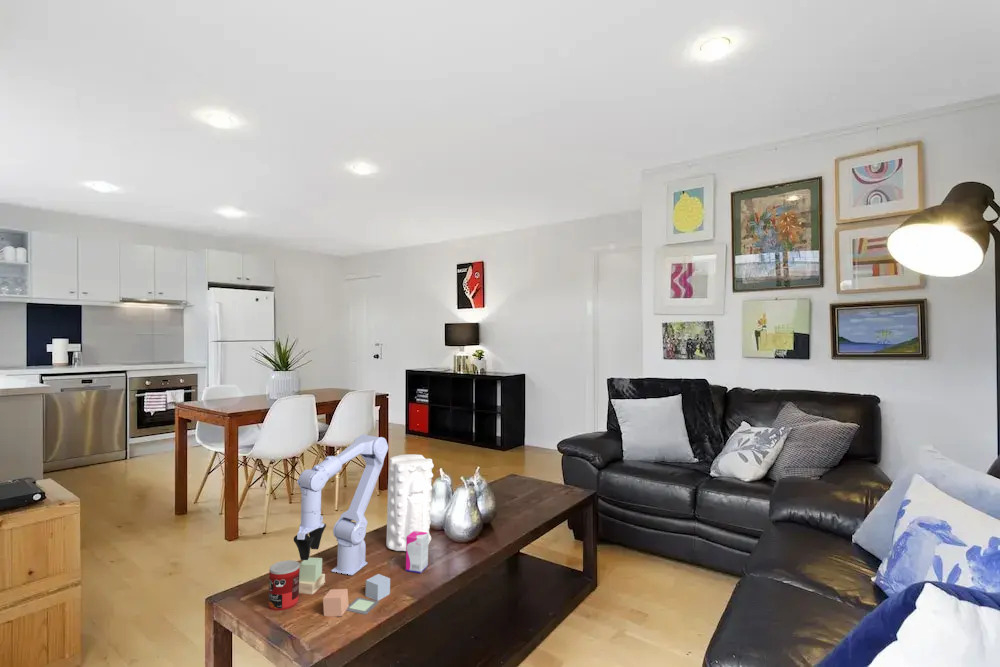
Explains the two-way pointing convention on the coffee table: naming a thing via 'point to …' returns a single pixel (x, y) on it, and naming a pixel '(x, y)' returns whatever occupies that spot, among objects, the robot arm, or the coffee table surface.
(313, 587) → the maple slab
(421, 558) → the supplement box
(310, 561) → the sage cube
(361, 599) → the tile
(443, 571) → the coffee table surface
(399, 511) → the vase
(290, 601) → the canned food
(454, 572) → the coffee table surface
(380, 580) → the slate blue cube
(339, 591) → the terracotta cube
